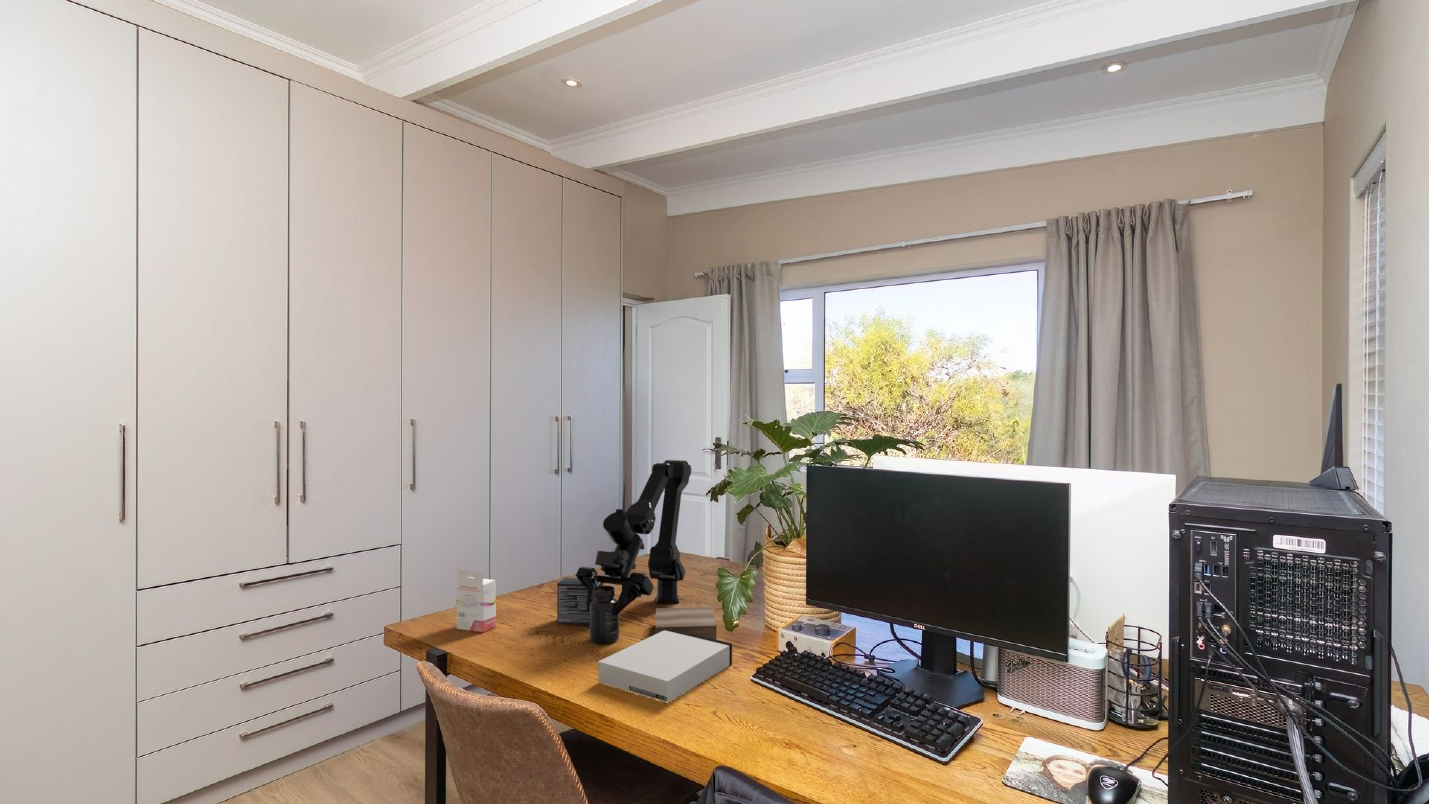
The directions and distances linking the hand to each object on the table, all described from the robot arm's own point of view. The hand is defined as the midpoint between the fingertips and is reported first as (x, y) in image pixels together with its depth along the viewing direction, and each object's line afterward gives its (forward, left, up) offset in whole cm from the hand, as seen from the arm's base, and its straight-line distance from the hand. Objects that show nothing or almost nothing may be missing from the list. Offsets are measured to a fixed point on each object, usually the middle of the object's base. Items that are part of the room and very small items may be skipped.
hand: (601, 613), depth 157 cm
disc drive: (+19, +15, -7) cm, 26 cm away
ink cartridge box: (-12, -31, -7) cm, 34 cm away
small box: (-15, -6, -7) cm, 18 cm away
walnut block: (-4, +20, -7) cm, 21 cm away
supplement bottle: (-1, +1, -7) cm, 7 cm away
